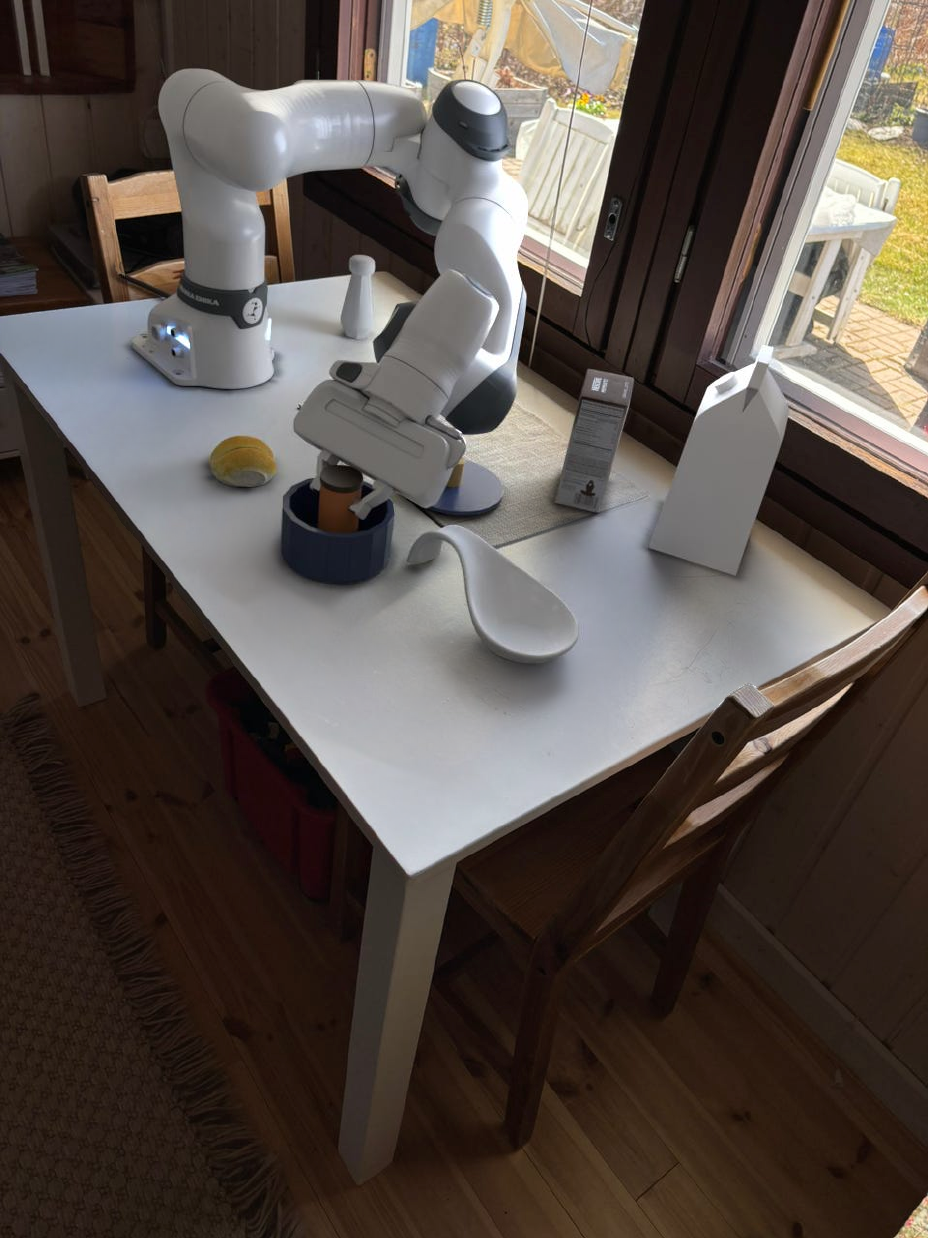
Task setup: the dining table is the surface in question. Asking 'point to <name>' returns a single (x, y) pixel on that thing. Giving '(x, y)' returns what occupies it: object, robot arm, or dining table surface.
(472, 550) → the spoon rest
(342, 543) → the tin
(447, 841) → the dining table surface
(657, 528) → the milk
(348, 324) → the salt shaker
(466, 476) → the tin lid
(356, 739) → the dining table surface
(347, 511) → the cylinder
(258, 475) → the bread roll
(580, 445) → the coffee box
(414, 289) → the dining table surface
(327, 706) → the dining table surface
